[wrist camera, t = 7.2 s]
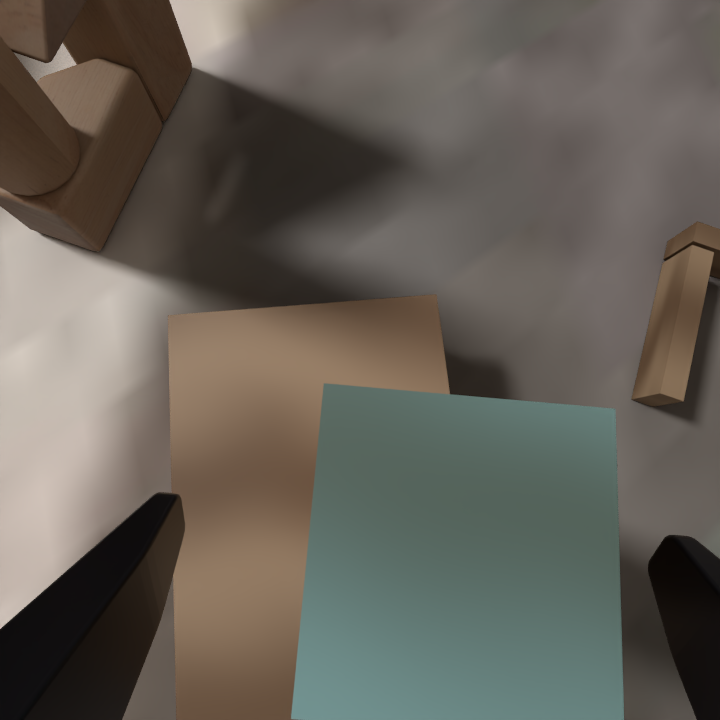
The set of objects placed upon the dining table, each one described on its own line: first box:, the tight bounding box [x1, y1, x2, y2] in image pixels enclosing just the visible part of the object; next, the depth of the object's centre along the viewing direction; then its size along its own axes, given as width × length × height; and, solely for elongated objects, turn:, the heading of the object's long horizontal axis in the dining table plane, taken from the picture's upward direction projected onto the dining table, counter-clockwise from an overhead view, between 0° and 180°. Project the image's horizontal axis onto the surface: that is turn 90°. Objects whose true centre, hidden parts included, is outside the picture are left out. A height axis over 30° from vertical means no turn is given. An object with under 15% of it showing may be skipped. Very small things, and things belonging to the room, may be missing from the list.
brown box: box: [168, 294, 450, 720], centre depth 18 cm, size 14×10×4 cm
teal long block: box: [291, 383, 624, 720], centre depth 11 cm, size 4×4×11 cm
